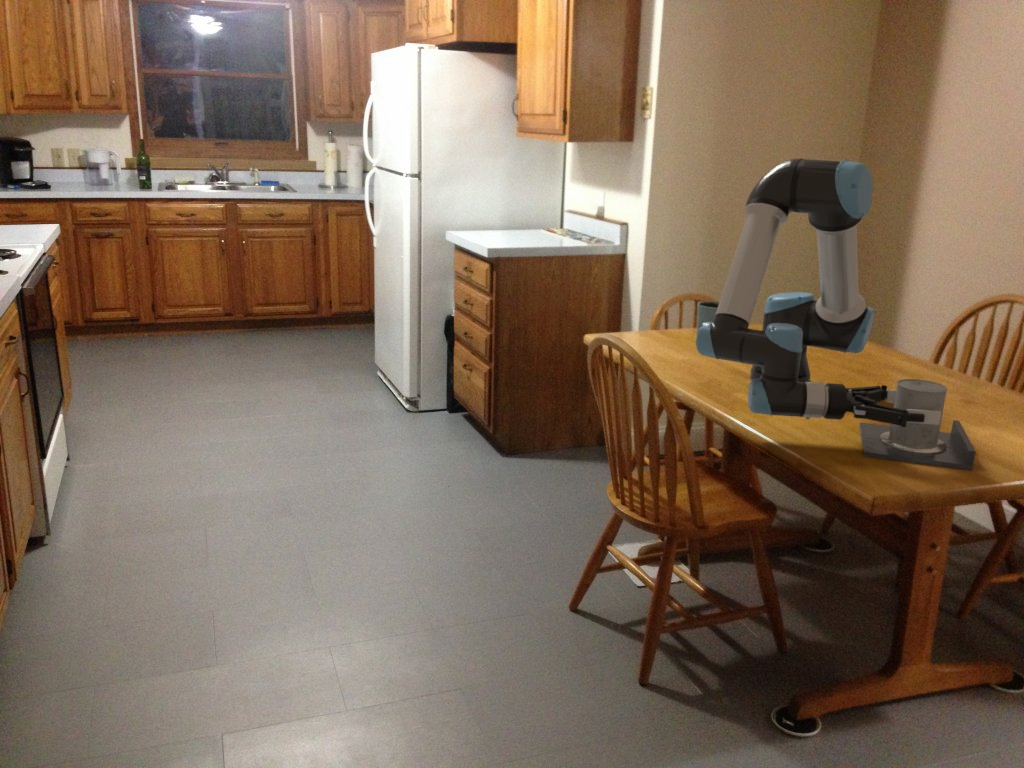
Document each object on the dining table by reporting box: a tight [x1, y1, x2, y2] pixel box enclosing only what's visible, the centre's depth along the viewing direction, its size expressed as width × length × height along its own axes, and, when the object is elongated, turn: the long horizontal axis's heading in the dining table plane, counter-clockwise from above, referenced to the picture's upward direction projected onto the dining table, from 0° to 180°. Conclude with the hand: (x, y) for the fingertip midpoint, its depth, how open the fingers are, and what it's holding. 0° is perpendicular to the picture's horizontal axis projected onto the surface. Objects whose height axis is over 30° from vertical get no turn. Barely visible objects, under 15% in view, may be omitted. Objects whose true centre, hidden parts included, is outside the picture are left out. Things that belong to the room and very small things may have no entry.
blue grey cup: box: [696, 300, 720, 334], centre depth 271 cm, size 10×10×12 cm
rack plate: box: [858, 419, 976, 471], centre depth 188 cm, size 20×20×4 cm
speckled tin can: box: [889, 378, 948, 449], centre depth 186 cm, size 10×10×12 cm
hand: (929, 407), depth 185 cm, fingers open, 13 cm apart
